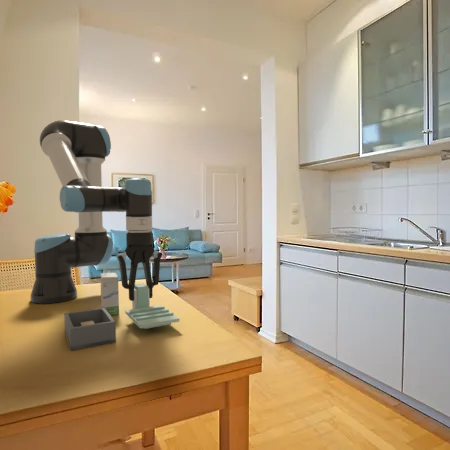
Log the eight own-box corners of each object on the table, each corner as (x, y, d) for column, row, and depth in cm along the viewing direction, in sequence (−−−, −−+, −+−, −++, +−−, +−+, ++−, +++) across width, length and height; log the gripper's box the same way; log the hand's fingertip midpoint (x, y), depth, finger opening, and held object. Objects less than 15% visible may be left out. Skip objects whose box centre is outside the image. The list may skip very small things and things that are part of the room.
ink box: (119, 314, 106) (118, 276, 106) (102, 316, 104) (101, 277, 104) (116, 307, 114) (116, 271, 114) (100, 309, 112) (99, 273, 112)
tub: (70, 350, 79) (70, 328, 79) (65, 332, 91) (64, 313, 91) (115, 342, 84) (115, 321, 84) (104, 325, 96) (104, 307, 96)
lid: (140, 332, 86) (139, 300, 86) (121, 312, 103) (120, 285, 103) (179, 325, 91) (179, 295, 91) (155, 307, 108) (155, 281, 108)
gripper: (114, 233, 96) (116, 317, 97) (169, 231, 103) (171, 309, 104) (108, 231, 102) (110, 311, 103) (161, 229, 110) (162, 303, 111)
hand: (141, 309), depth 104 cm, fingers closed on lid, 3 cm apart
